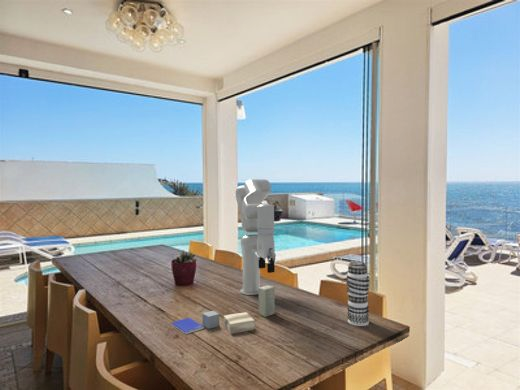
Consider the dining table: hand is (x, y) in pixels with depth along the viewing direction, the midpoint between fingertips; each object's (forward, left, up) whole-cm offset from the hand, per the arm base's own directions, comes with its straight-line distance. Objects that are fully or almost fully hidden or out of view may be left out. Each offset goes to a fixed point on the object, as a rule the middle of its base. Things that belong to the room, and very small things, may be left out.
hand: (266, 270), depth 142 cm
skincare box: (0, 0, -20) cm, 20 cm away
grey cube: (+2, -26, -20) cm, 33 cm away
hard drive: (-1, -35, -21) cm, 40 cm away
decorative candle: (+24, +31, -20) cm, 44 cm away
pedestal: (+8, -16, -20) cm, 27 cm away
